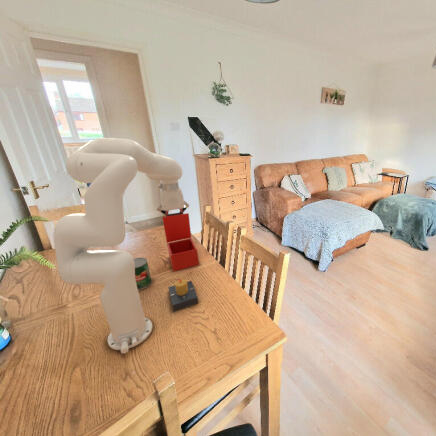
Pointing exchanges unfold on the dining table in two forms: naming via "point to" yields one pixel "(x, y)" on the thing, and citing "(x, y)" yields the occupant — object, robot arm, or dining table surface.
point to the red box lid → (177, 227)
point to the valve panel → (183, 297)
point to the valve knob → (181, 287)
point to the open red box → (182, 254)
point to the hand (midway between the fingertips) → (175, 220)
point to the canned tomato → (142, 273)
